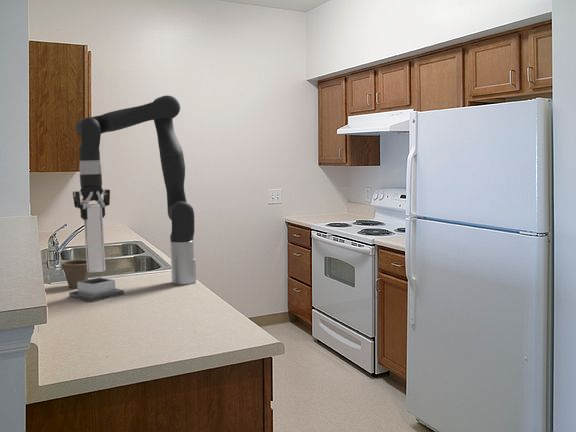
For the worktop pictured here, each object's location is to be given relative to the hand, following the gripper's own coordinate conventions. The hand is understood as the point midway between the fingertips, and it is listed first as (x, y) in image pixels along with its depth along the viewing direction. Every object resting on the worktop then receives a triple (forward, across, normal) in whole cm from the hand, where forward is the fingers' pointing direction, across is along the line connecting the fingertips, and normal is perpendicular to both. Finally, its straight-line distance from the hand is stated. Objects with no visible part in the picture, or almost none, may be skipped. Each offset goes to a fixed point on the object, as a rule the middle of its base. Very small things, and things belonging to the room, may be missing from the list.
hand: (93, 218), depth 198 cm
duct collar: (+29, 0, 0) cm, 29 cm away
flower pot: (+29, -3, -20) cm, 35 cm away
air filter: (+20, 0, 0) cm, 20 cm away
